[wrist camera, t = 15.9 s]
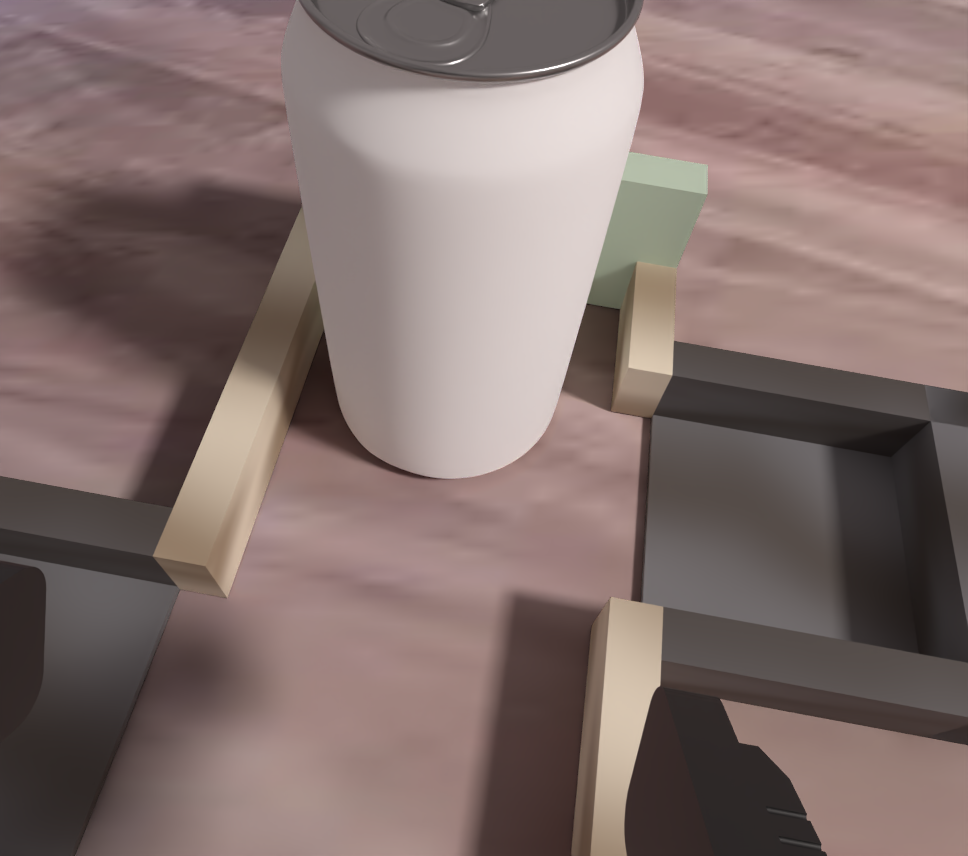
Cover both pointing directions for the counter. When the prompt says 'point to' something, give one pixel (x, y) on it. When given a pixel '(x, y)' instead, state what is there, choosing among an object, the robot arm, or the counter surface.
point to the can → (457, 207)
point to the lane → (622, 623)
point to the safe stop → (648, 221)
